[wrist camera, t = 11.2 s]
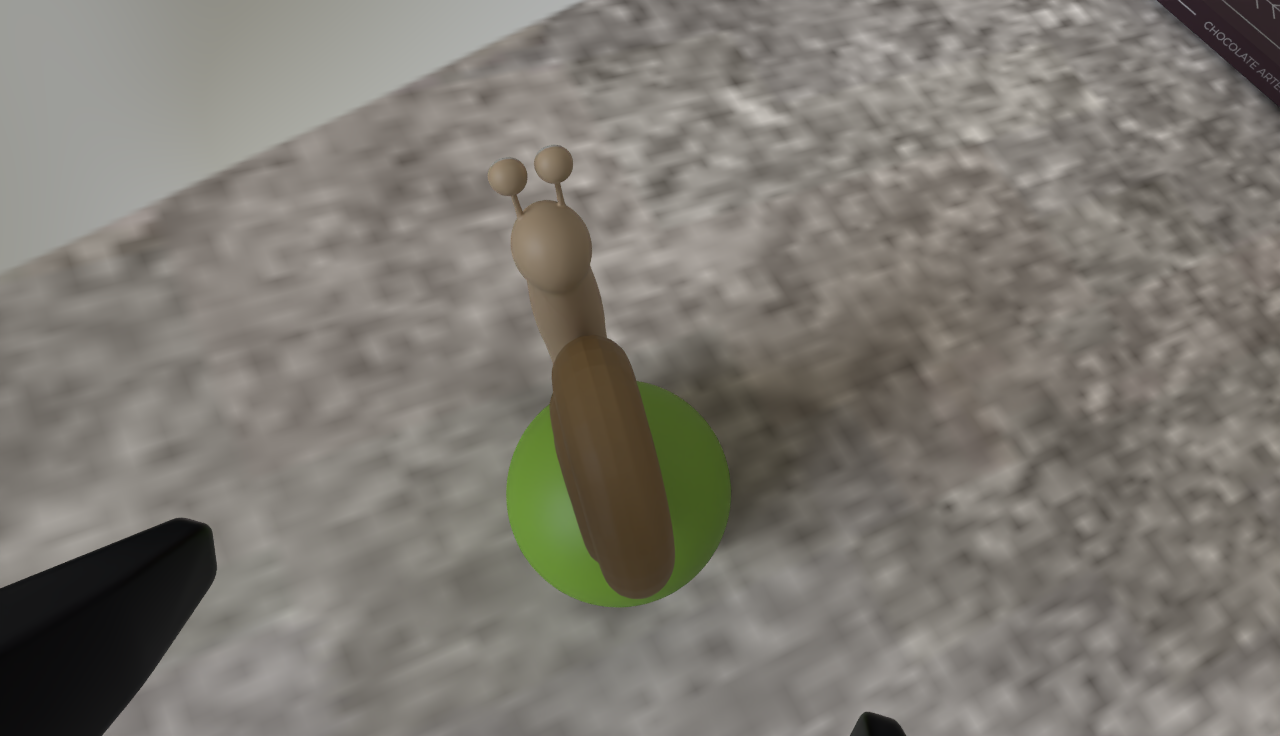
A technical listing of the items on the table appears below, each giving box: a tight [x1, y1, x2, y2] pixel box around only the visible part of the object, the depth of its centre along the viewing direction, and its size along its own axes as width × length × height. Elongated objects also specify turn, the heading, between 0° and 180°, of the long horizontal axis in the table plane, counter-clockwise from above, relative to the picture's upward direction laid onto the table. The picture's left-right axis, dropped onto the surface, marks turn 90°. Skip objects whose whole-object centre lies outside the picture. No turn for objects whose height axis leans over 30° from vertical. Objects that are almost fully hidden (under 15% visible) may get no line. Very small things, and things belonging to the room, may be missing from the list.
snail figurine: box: [488, 145, 731, 607], centre depth 15 cm, size 5×6×12 cm
